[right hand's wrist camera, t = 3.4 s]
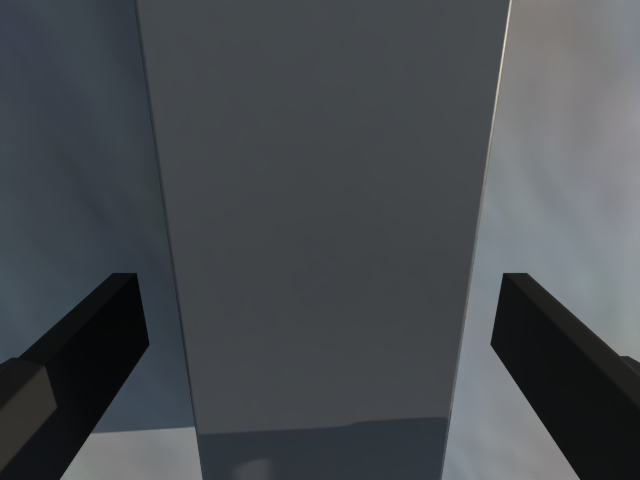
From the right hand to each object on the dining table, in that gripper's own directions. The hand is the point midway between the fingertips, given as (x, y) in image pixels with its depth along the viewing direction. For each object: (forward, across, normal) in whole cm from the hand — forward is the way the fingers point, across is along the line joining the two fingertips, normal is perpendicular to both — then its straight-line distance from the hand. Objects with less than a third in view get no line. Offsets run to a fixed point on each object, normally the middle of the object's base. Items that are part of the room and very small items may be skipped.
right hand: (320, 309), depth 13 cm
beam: (+2, 0, -23) cm, 23 cm away
